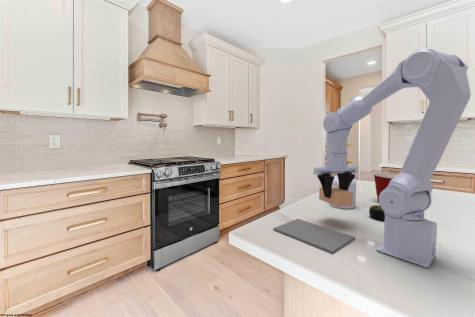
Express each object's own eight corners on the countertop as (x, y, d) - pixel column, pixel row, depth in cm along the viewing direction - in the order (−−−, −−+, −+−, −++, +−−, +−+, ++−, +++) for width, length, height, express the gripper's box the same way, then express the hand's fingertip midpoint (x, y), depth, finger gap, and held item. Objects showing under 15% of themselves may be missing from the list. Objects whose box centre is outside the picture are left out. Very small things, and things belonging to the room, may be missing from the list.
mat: (355, 239, 59) (355, 236, 59) (332, 254, 52) (332, 251, 52) (297, 220, 73) (297, 218, 73) (273, 230, 66) (273, 228, 65)
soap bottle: (359, 209, 84) (362, 144, 82) (335, 209, 85) (337, 144, 82) (348, 202, 93) (350, 143, 91) (326, 202, 93) (328, 143, 91)
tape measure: (390, 224, 70) (391, 212, 70) (366, 218, 75) (366, 207, 75) (395, 218, 75) (395, 207, 75) (371, 213, 80) (372, 203, 79)
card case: (332, 198, 75) (332, 186, 74) (352, 205, 66) (353, 192, 66) (319, 199, 74) (319, 187, 73) (338, 207, 65) (338, 193, 65)
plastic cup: (404, 208, 85) (406, 177, 84) (371, 204, 91) (372, 175, 90) (401, 201, 95) (403, 173, 93) (371, 198, 100) (373, 171, 99)
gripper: (346, 151, 74) (345, 192, 75) (308, 152, 70) (307, 195, 72) (363, 153, 68) (361, 197, 69) (322, 154, 64) (321, 201, 65)
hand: (335, 196), depth 70 cm, fingers closed on card case, 5 cm apart
